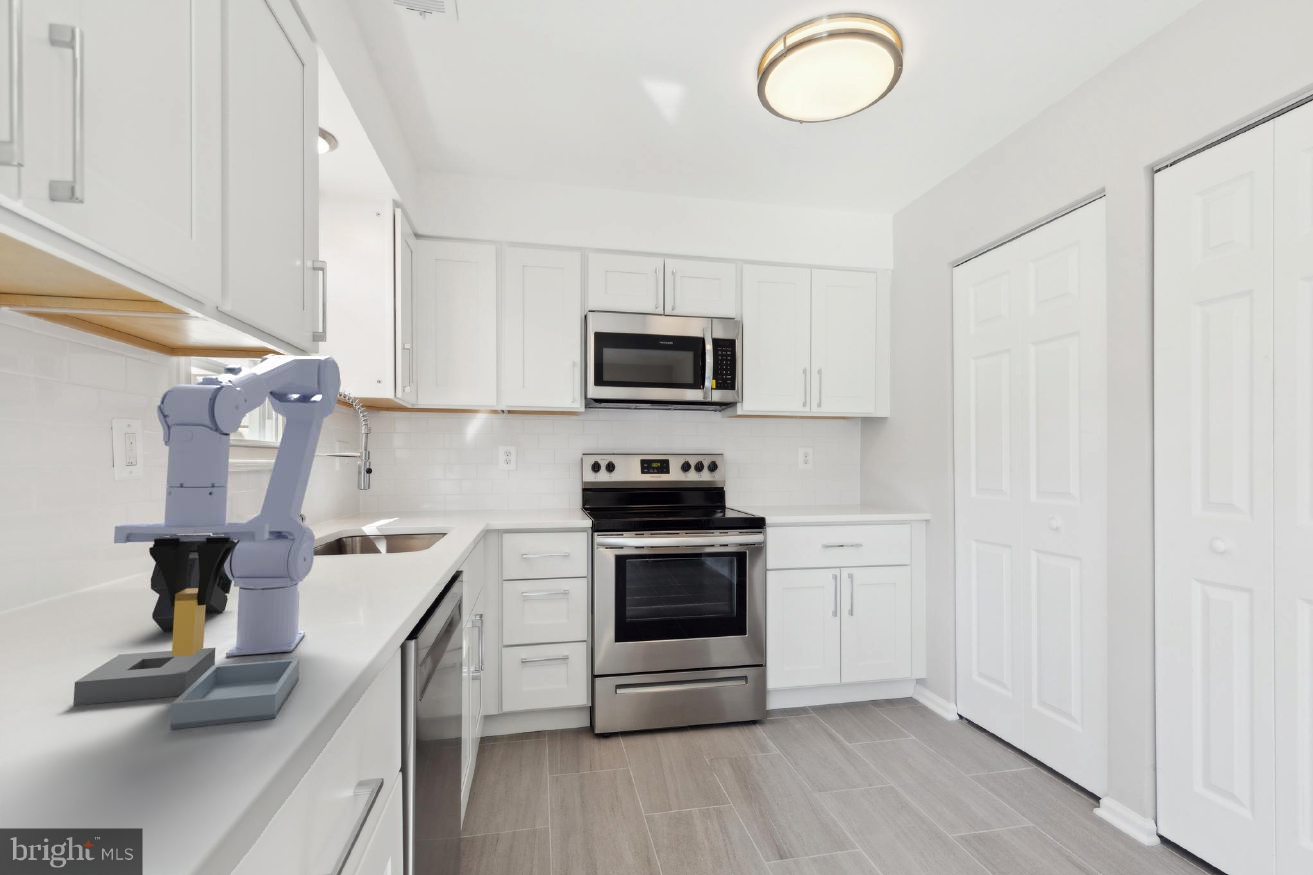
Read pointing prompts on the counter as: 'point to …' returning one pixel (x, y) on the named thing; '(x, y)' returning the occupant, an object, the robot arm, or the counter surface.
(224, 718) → the parts tray
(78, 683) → the socket block
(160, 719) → the counter surface
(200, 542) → the tool
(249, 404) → the robot arm
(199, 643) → the block
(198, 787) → the counter surface
